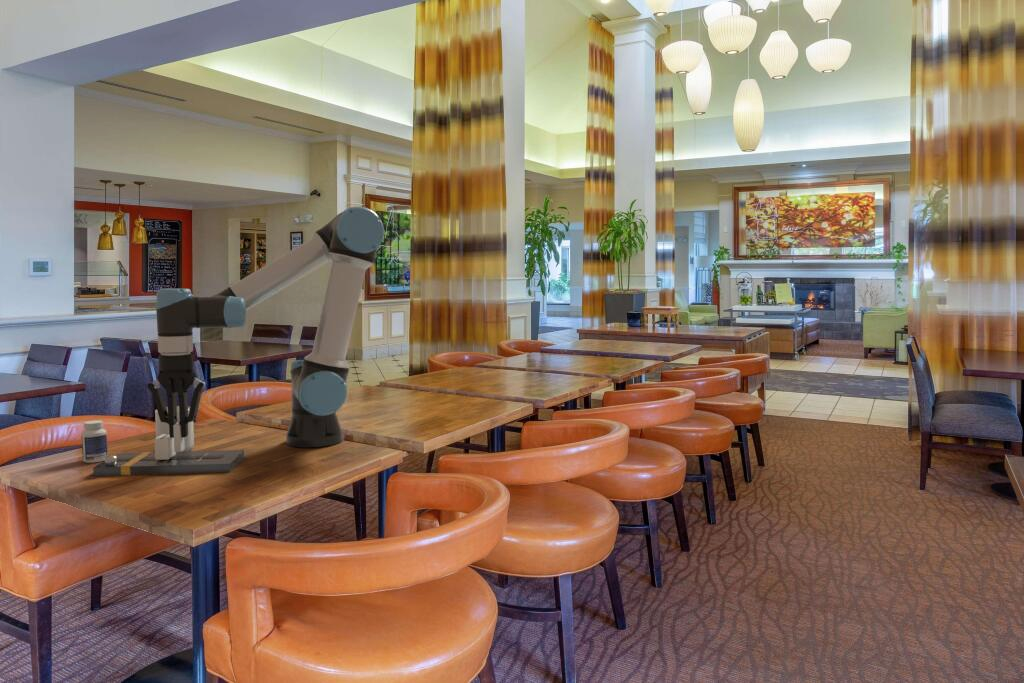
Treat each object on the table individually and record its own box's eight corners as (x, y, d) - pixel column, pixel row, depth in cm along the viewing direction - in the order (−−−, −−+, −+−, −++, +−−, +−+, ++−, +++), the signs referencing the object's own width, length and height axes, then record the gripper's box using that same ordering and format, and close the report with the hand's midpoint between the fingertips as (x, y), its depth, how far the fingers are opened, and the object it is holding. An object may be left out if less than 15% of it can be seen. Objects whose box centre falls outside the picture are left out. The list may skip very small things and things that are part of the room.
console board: (244, 457, 174) (243, 442, 173) (230, 472, 161) (229, 455, 160) (118, 461, 170) (117, 445, 170) (93, 476, 157) (92, 459, 157)
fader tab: (175, 454, 168) (175, 433, 167) (168, 459, 163) (167, 438, 162) (163, 454, 167) (162, 433, 167) (155, 459, 162) (154, 438, 162)
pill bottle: (112, 459, 172) (110, 420, 171) (92, 464, 167) (89, 425, 166) (98, 456, 174) (96, 418, 173) (77, 461, 169) (75, 422, 168)
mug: (194, 453, 178) (192, 411, 177) (155, 456, 174) (153, 413, 173) (195, 442, 189) (193, 403, 188) (158, 446, 185) (157, 405, 184)
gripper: (209, 351, 168) (212, 446, 170) (153, 351, 166) (156, 447, 168) (199, 354, 160) (202, 453, 162) (140, 355, 158) (144, 455, 161)
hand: (179, 450), depth 165 cm, fingers closed
